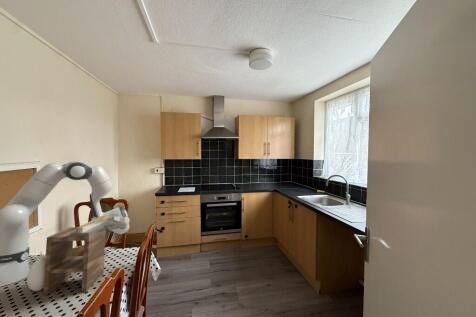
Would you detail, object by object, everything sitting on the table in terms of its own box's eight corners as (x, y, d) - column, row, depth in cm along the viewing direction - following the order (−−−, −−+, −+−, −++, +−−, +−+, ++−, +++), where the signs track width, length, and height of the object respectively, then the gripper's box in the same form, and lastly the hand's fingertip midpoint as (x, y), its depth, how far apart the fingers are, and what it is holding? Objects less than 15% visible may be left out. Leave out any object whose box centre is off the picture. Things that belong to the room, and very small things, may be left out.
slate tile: (70, 236, 88) (70, 233, 88) (88, 227, 101) (88, 224, 101) (88, 235, 89) (88, 232, 89) (104, 226, 102) (104, 224, 102)
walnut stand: (43, 294, 85) (46, 237, 86) (66, 276, 99) (69, 227, 100) (86, 291, 88) (89, 236, 89) (103, 274, 102) (105, 226, 103)
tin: (60, 266, 109) (61, 251, 110) (59, 264, 111) (60, 249, 112) (92, 256, 121) (92, 243, 121) (91, 255, 123) (91, 242, 123)
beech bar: (75, 233, 88) (75, 228, 88) (102, 219, 110) (102, 215, 110) (82, 233, 89) (82, 227, 89) (108, 219, 110) (108, 215, 110)
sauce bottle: (21, 296, 84) (24, 256, 85) (35, 285, 91) (37, 248, 92) (42, 294, 86) (45, 254, 86) (54, 283, 93) (56, 247, 94)
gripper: (99, 219, 121) (87, 213, 109) (132, 218, 124) (124, 212, 112) (95, 229, 118) (83, 224, 106) (130, 228, 120) (121, 223, 109)
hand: (104, 218), depth 109 cm, fingers open, 8 cm apart
